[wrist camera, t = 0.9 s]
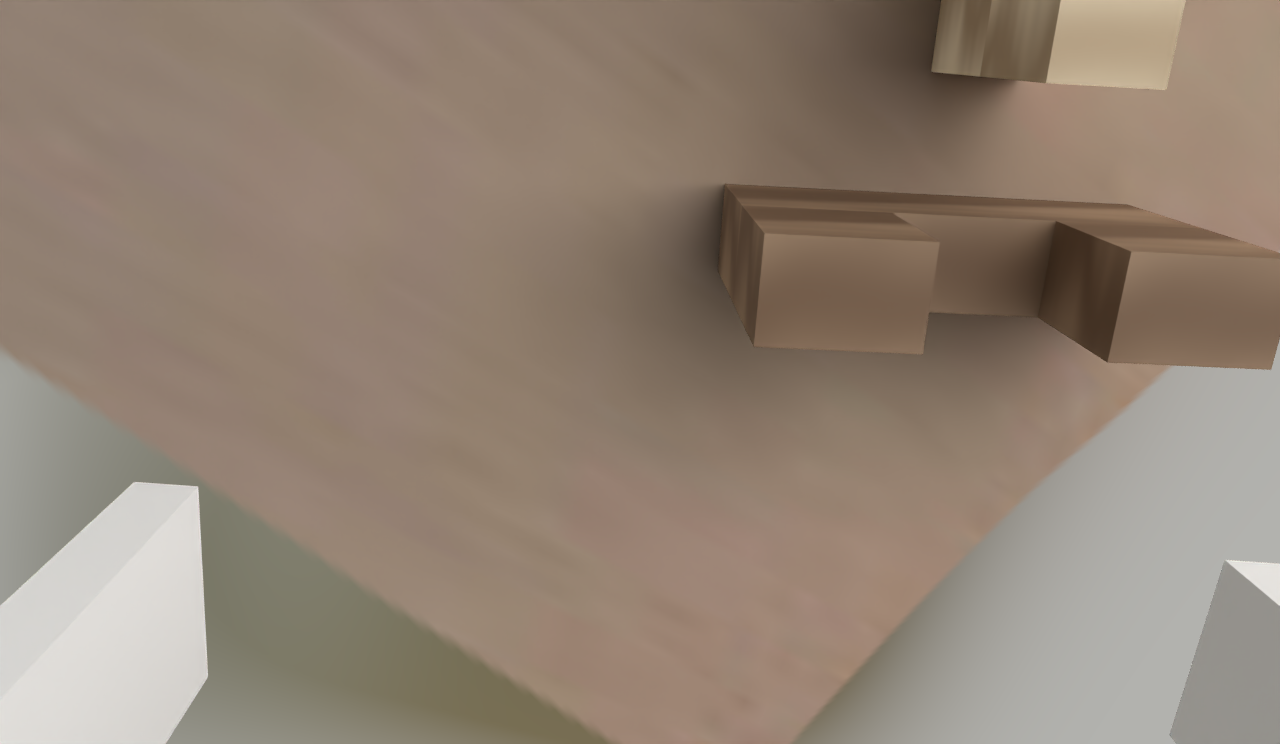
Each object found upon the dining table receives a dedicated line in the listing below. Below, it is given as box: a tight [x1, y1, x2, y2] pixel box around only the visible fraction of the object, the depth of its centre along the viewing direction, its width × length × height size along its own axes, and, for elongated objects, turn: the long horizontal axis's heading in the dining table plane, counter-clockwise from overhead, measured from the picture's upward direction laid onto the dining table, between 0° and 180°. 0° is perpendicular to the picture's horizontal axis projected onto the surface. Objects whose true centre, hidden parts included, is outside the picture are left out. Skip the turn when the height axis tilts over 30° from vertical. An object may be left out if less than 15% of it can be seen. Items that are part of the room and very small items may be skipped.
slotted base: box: [718, 184, 1280, 370], centre depth 30 cm, size 3×14×9 cm, turn 87°
